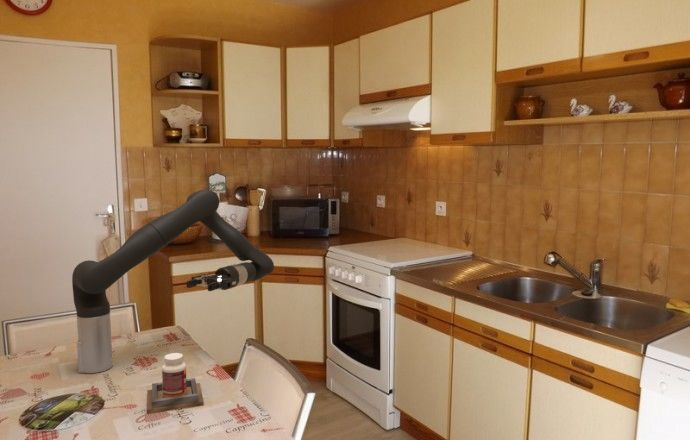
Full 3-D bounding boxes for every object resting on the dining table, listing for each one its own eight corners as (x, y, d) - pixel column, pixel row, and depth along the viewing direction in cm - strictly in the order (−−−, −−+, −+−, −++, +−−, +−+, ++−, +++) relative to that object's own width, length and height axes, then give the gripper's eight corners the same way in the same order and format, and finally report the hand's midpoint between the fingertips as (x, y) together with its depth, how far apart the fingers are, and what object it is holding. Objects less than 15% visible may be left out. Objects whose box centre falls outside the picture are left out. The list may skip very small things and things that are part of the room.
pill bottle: (189, 396, 140) (188, 357, 138) (166, 402, 136) (165, 362, 135) (183, 388, 145) (181, 350, 143) (160, 393, 141) (158, 354, 140)
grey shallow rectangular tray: (146, 413, 132) (146, 403, 132) (147, 393, 144) (147, 383, 143) (203, 405, 137) (203, 395, 137) (199, 386, 148) (199, 376, 148)
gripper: (214, 263, 179) (180, 272, 164) (248, 267, 173) (215, 277, 158) (214, 284, 180) (180, 295, 165) (248, 289, 173) (216, 301, 159)
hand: (197, 286), depth 162 cm, fingers open, 8 cm apart
